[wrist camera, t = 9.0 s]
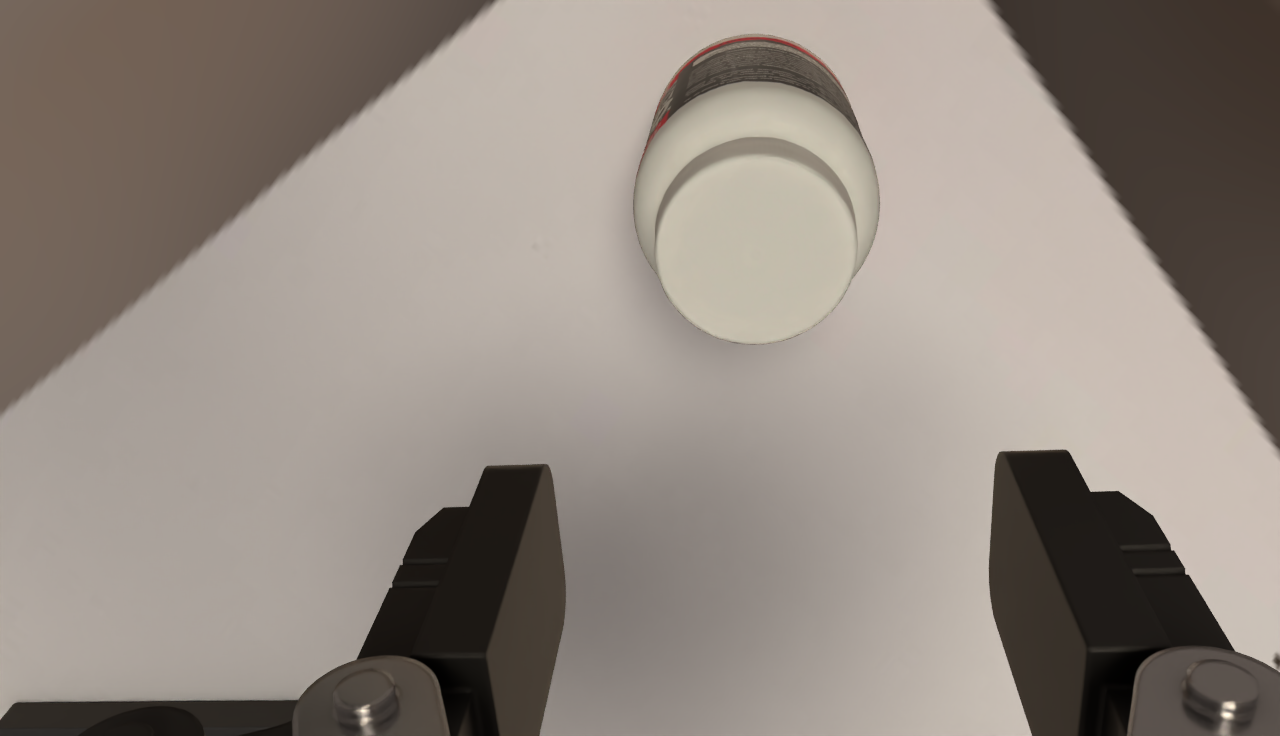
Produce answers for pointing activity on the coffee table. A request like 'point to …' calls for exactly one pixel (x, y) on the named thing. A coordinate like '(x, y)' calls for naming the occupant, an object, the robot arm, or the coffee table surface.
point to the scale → (54, 727)
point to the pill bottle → (755, 190)
